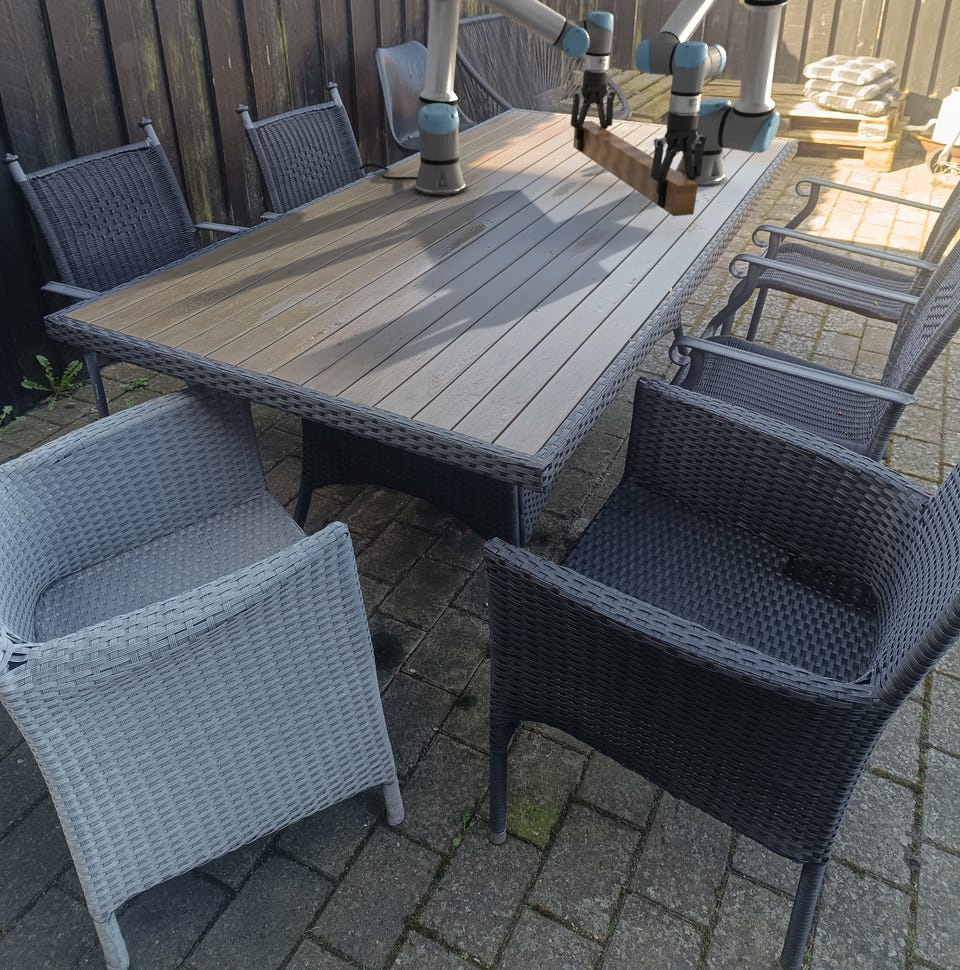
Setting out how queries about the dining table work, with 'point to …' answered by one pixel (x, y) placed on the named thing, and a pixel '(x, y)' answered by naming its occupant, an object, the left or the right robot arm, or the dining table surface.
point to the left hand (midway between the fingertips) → (589, 149)
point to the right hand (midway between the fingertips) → (672, 205)
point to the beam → (636, 169)
